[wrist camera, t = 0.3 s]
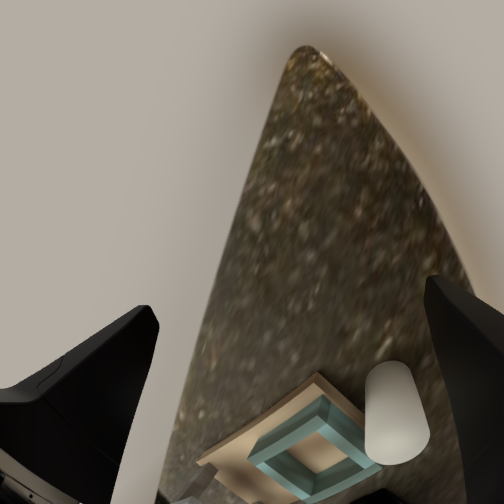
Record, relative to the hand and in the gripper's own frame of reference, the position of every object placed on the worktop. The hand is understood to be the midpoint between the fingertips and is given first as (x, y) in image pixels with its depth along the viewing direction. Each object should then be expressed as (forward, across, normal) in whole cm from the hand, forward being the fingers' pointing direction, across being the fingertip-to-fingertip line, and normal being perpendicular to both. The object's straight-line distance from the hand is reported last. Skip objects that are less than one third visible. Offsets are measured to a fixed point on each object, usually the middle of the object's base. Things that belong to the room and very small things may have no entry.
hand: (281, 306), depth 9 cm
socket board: (+5, +3, +22) cm, 23 cm away
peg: (+8, -6, +15) cm, 18 cm away
